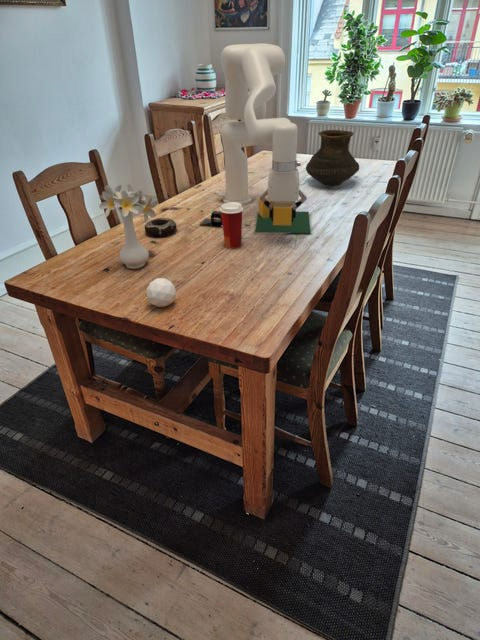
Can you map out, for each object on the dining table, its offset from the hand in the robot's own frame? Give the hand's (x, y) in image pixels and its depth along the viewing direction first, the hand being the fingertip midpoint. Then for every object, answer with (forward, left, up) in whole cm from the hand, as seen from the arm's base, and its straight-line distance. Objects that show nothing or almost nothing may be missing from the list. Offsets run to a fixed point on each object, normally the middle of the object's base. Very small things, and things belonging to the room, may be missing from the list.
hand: (282, 219), depth 149 cm
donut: (-45, +8, -8) cm, 46 cm away
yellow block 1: (-6, +25, -7) cm, 26 cm away
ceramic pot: (+22, +69, -8) cm, 73 cm away
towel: (0, +18, -8) cm, 19 cm away
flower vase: (-46, -19, -8) cm, 50 cm away
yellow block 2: (0, 0, -1) cm, 1 cm away
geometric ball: (-32, -43, -8) cm, 54 cm away
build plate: (-25, +17, -8) cm, 31 cm away
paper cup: (-17, -3, -8) cm, 19 cm away
